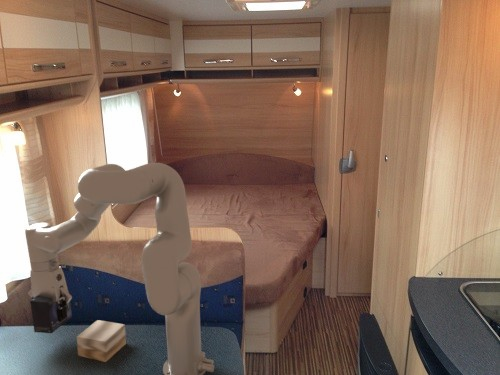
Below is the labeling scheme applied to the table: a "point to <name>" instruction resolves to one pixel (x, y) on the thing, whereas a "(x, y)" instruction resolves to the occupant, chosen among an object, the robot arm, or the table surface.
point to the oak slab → (102, 355)
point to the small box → (47, 314)
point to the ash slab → (101, 336)
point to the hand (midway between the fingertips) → (53, 317)
